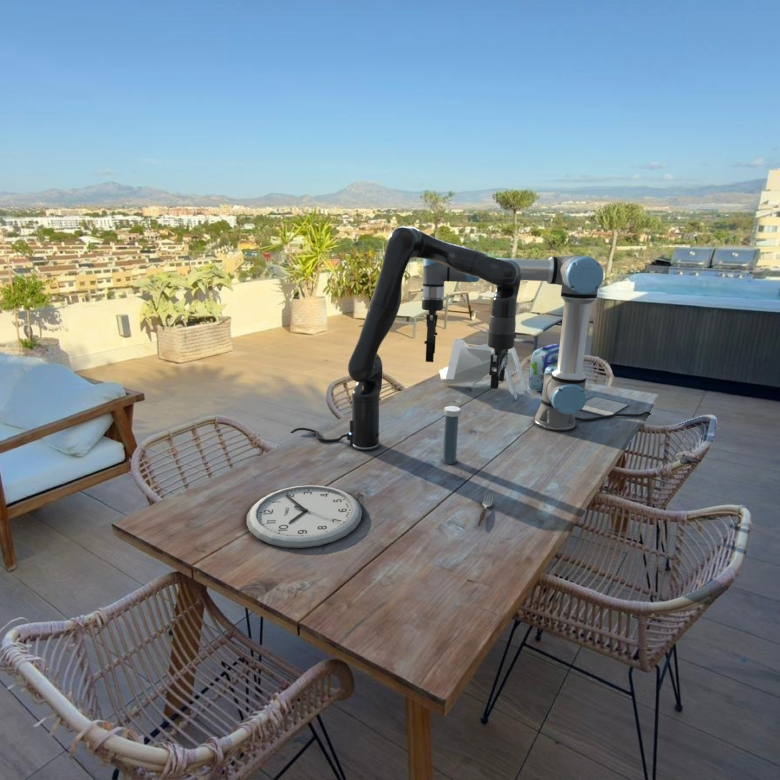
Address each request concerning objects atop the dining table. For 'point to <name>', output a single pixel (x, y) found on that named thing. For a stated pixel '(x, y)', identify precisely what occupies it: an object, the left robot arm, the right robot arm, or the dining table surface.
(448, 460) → the bottle
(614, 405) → the invitation card
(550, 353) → the lunch box
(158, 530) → the dining table surface
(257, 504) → the wall clock
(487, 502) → the fork
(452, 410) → the lid
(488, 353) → the white plastic object
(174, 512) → the dining table surface
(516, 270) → the left robot arm
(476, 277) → the right robot arm
